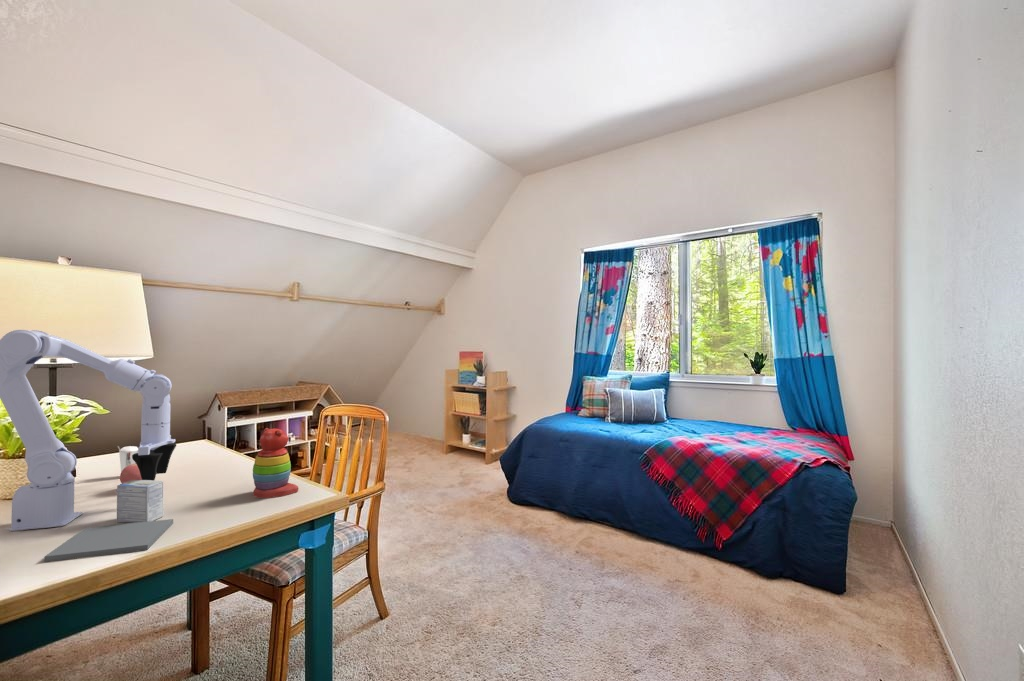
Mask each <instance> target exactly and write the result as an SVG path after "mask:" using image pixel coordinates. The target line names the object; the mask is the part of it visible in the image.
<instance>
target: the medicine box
mask: <svg viewBox="0 0 1024 681" xmlns="http://www.w3.org/2000/svg"><path fill="white" fill-rule="evenodd" d="M163 517H164V481H163V480H156V479H155V480H131V481H128V482H125V483H121V484H118V485H117V486H116V522H117V523H138V522H148V521H158V519H161V518H163Z"/></svg>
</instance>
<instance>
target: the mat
mask: <svg viewBox="0 0 1024 681" xmlns="http://www.w3.org/2000/svg"><path fill="white" fill-rule="evenodd" d="M173 524H174V519H173V518H171V519H160V520H158V519H157V520H154V521H148V522H138V523H133V522H127V523H120V524H118V523H117V524H110V525H100V526H99V525H98V526H89V527H84V528H83V529H82V530H80V531H79V532H77V533H76V534H74V535H73V536H71V537H70V538H68V539H67V540H66V541H65V542H63V543H62V544H60V545H58V546H57V547H56V548H54V549H53V550H52V551H50V552H49V553H47V554H46V555H44V556H43V557H44V558H43V562H45V563H46V562H54V561H63V560H71V559H82V558H88V557H97V556H98V557H99V556H106V555H114V554H116V555H117V554H123V553H132V552H140V551H149V549H150V548H151V547H152V546H153V545H154V544H156V542H157V541H158V540H159V539H160V538H161V537H162V535H164V534H165V533H166V532H167V531H168V530H169V529H170V528H171V526H172V525H173Z"/></svg>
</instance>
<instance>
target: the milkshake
mask: <svg viewBox="0 0 1024 681" xmlns="http://www.w3.org/2000/svg"><path fill="white" fill-rule="evenodd" d="M117 448H118V453H119V463H120V464H119V465H120V473H121V472H122V470H123V469H124V468H125V467H127V466H129V465H131V464H135V461H134V460H133V459H132V455H133V454H135V453H138V446H137V445H136V446H135V445H132V446H131V445H129V446H124V447H122V448H120V446H119V445H117Z"/></svg>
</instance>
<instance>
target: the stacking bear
mask: <svg viewBox="0 0 1024 681" xmlns="http://www.w3.org/2000/svg"><path fill="white" fill-rule="evenodd" d="M288 443H289V436H288V435H287V434H286V432H285V431H284V430H283V429H279V428H268V427H266V428H264V429H263V430H262V434H260V437H259V445H260V448H261V449H260V450H259V451H258V452H257V455H256V456H255V458H254V459H255V460H254V464H253V467H252V478H253V484H254V486H255V487H254V489H253V491H252V492H253V493H252V495H253V496H254V497H255V498H259V499H268V498H269V499H270V498H276V497H277V498H278V497H283V496H287V495H291V494H295V493H297V492H298V491H299V486H298V485H297V484H294V483H291V482H290V483H289V479H290V476H291V470H292V469H291V467H292V464H291V460H290V455H289V451H288V449H287V448H286V446H287V444H288Z"/></svg>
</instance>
